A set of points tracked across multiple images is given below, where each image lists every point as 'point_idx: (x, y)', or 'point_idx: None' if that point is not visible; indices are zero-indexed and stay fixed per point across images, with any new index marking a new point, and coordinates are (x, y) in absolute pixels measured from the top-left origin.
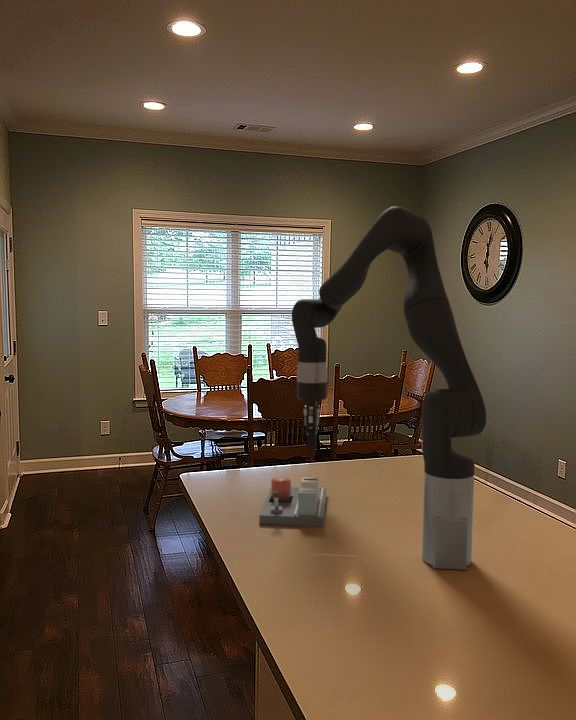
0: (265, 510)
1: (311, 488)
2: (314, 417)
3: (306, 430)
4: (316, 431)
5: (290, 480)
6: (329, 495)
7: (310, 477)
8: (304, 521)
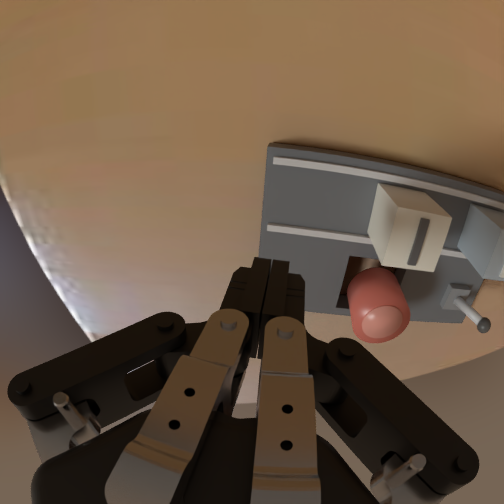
0: (440, 315)
1: (498, 246)
2: (472, 470)
3: (354, 405)
4: (355, 350)
5: (390, 298)
6: (252, 131)
7: (390, 238)
8: None
